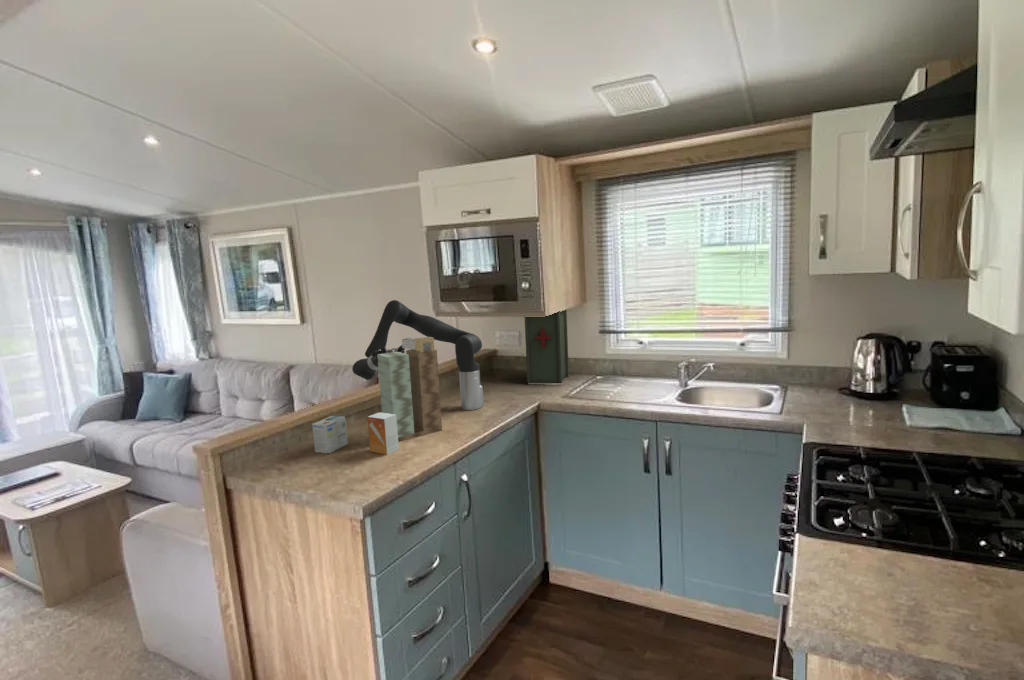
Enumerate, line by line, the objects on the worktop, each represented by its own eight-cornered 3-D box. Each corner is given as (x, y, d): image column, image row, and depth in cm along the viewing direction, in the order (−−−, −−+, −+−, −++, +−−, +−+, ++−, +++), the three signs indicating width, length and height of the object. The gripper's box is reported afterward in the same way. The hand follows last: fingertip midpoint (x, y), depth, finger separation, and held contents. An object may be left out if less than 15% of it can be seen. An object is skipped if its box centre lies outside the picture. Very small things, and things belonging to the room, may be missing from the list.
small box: (369, 452, 190) (366, 416, 188) (382, 446, 196) (379, 411, 194) (387, 455, 186) (384, 418, 184) (399, 449, 192) (396, 413, 190)
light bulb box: (334, 442, 203) (331, 415, 201) (348, 444, 200) (346, 416, 199) (314, 452, 193) (311, 423, 191) (329, 454, 190) (326, 424, 189)
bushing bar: (412, 346, 221) (411, 334, 220) (434, 350, 207) (433, 337, 206) (399, 348, 217) (398, 335, 217) (420, 352, 203) (419, 339, 202)
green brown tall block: (429, 425, 220) (424, 347, 215) (442, 430, 212) (436, 350, 207) (383, 436, 208) (377, 354, 203) (395, 442, 200) (388, 357, 195)
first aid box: (568, 378, 296) (566, 305, 291) (561, 385, 279) (559, 308, 273) (536, 377, 302) (533, 306, 296) (527, 384, 284) (524, 309, 279)
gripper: (361, 353, 236) (377, 341, 224) (390, 349, 246) (407, 338, 234) (366, 369, 235) (381, 358, 223) (395, 365, 244) (411, 354, 232)
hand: (394, 348), depth 228 cm, fingers open, 8 cm apart
